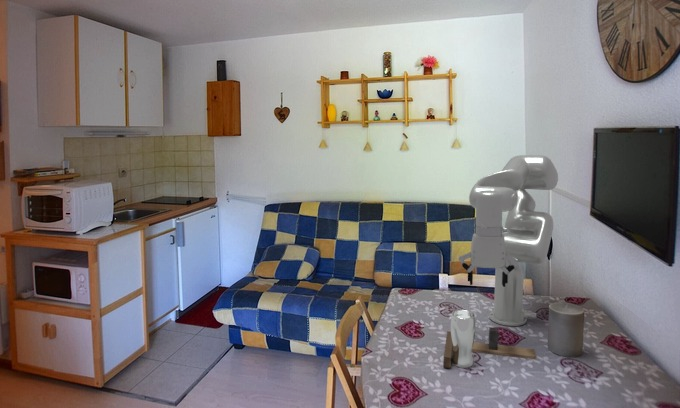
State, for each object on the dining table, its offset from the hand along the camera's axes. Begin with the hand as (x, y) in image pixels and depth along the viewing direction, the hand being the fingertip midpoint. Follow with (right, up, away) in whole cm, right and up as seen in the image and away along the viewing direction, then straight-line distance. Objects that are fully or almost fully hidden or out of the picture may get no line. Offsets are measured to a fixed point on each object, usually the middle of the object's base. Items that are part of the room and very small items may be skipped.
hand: (487, 284), depth 136 cm
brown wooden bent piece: (-1, -21, -6) cm, 22 cm away
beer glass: (-10, -22, -8) cm, 25 cm away
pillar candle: (+23, -20, -1) cm, 31 cm away
